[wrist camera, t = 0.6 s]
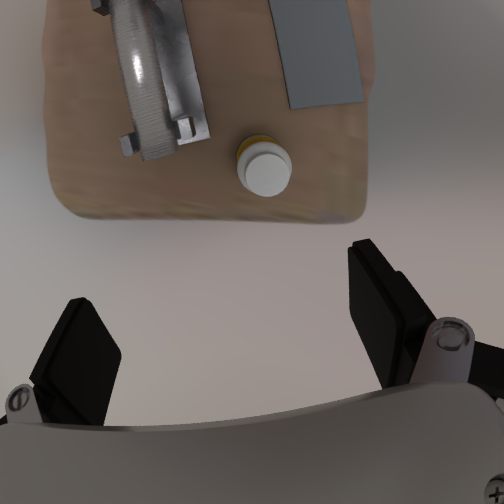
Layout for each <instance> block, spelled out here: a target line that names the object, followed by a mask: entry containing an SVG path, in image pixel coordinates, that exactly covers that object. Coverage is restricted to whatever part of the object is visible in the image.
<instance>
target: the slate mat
mask: <svg viewBox="0 0 504 504" xmlns="http://www.w3.org/2000/svg"><path fill="white" fill-rule="evenodd" d="M268 1H269V6H270V10H271V14H272V19H273V23H274V28H275V33H276V37H277V42H278V47H279V52H280V57H281V62H282V67H283V72H284V78H285V83H286V89H287V94H288V100H289V106H290V109H291V110H292V109H299V108H306V107H315V106H323V105H333V104H343V103H356V102H364V96H363V89H362V82H361V75H360V69H359V63H358V57H357V51H356V46H355V41H354V36H353V31H352V26H351V21H350V17H349V12H348V8H347V4H346V0H268Z"/></svg>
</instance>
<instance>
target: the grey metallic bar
mask: <svg viewBox="0 0 504 504" xmlns="http://www.w3.org/2000/svg"><path fill="white" fill-rule="evenodd" d="M108 6H109V12H110V18H111V24H112V30H113V35H114V41H115V46H116V51H117V56H118V61H119V66H120V71H121V75H122V80H123V84H124V89H125V93H126V98H127V102H128V106H129V110H130V114H131V118H132V122H133V126H134V130H135V134H136V138H137V142H138V145H139V149H140V153H141V156H142V160H143V161H148V160H153V159H157V158H161V157H164V156H167V155H170V154H172V153H175V152H177V151H179V146H178V142H177V137H176V133H175V129H174V125H173V121H172V117H171V112H170V108H169V104H168V99H167V95H166V91H165V86H164V82H163V77H162V73H161V68H160V63H159V59H158V54H157V49H156V44H155V39H154V34H153V29H152V24H151V19H150V14H149V9H148V3H147V0H108Z"/></svg>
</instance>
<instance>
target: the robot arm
mask: <svg viewBox="0 0 504 504" xmlns="http://www.w3.org/2000/svg"><path fill="white" fill-rule="evenodd" d="M348 269H349V303H350V305H349V308H350V314H351V317H352V320H353V322H354V324H355V327H356V329H357V331H358V333H359V336H360V338H361V340H362V342H363V344H364V346H365V349H366V351H367V354H368V356H369V358H370V361H371V363H372V365H373V368H374V370H375V372H376V375H377V377H378V379H379V382H380V384H381V387H382V390H378V391H374V392H370V393H365V394H362V395H358V396H354V397H350V398H346V399H342V400H337V401H333V402H329V403H324V404H320V405H315V406H310V407H305V408H300V409H295V410H290V411H285V412H279V413H273V414H268V415H261V416H254V417H248V418H241V419H233V420H224V421H216V422H204V423H193V424H179V425H159V426H103V425H104V421H105V417H106V413H107V409H108V405H109V401H110V397H111V394H112V390H113V386H114V382H115V379H116V375H117V372H118V368H119V365H120V362H121V352H120V349H119V348H118V346H117V344H116V343H115V341H114V340H113V338H112V337H111V335H110V333H109V332H108V330H107V328H106V327H105V325H104V324H103V322H102V320H101V318H100V317H99V315H98V313H97V312H96V310H95V308H94V306H93V305H92V303H91V302H90V301H89V300H87V299H86V298H84V297H81V298H77V299H72V300H70V301H69V303H68V304H67V306H66V308H65V310H64V311H63V313H62V315H61V317H60V319H59V321H58V322H57V324H56V326H55V328H54V330H53V331H52V334H51V335H50V337H49V339H48V341H47V343H46V345H45V347H44V349H43V351H42V353H41V354H40V357H39V359H38V361H37V363H36V365H35V367H34V369H33V371H32V373H31V375H30V377H29V379H30V380H31V381H32V382H33V384H34V387H33V388H32V387H31V386H30V385H28V384H22V385H19V386H17V387H16V388H14V390H12V391H11V393H10V394H9V395H8V397H7V399H6V404H5V409H6V415H5V416H3V417H2V418H1V419H0V504H504V349H502V348H499V347H495V346H491V345H487V344H484V343H481V342H477V341H475V335H474V332H473V330H472V328H471V327H470V326H469V325H468V324H467V323H466V322H464V321H463V320H461V319H458V318H455V317H444V318H439V319H436V317H435V316H434V314H433V313H432V312H431V310H430V309H429V307H428V306H427V305H426V303H425V302H424V301H423V299H422V298H421V297H420V295H419V294H418V292H417V291H416V290H415V288H414V287H413V286H412V284H411V283H410V282H409V281H408V279H407V278H406V277H405V275H404V274H403V273H402V272H401V271H395V270H394V269H393V268H392V266H391V265H390V264H389V262H388V261H387V260H386V258H385V257H384V256H383V255H382V253H381V252H380V251H379V250H378V248H377V247H376V246H375V244H374V243H373V242H372V241H371V240H370V239H364V240H360V241H355V242H353V244H352V247H349V248H348Z"/></svg>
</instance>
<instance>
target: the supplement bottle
mask: <svg viewBox="0 0 504 504" xmlns="http://www.w3.org/2000/svg"><path fill="white" fill-rule="evenodd" d="M236 160H237V173H238V177H239V179H240V181H241V183H242V184H243V185H244V187H245V188H247V189H248V190H249V191H251V192H253V193H255V194H257V195H260V196H264V197H271V196H275V195H277V194H279V193H280V192H282V191H283V190H284V189H285V188H286V186H287V184H288V182H289V179H290V177H291V173H292V163H291V159H290V157H289V155H288V154H287V152H286V151H285V150H284V149H283V148H282V147H281V146H280V145H279V144H278V143H277V141H275V140H274V139H273V138H271V137H269V136H266V135H253V136H250V137H248V138H246V139H245V140H244V141H243V142H242V143H241V144H240V146H239V148H238V150H237V157H236Z"/></svg>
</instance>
